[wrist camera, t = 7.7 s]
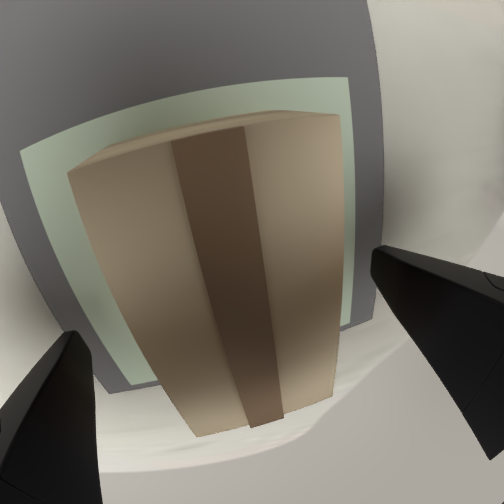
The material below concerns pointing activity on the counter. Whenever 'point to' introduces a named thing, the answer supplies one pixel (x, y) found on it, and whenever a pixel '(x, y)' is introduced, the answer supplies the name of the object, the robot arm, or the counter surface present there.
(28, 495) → the robot arm
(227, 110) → the mat
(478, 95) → the counter surface
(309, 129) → the taped cardboard box
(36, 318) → the counter surface
